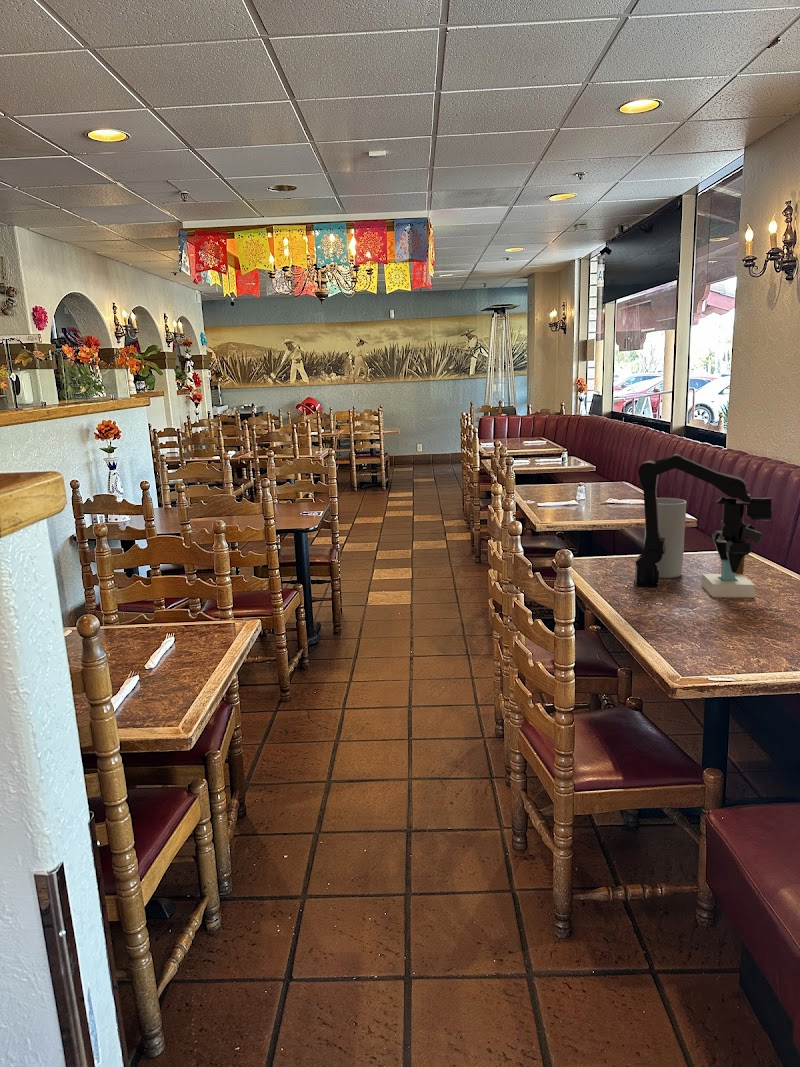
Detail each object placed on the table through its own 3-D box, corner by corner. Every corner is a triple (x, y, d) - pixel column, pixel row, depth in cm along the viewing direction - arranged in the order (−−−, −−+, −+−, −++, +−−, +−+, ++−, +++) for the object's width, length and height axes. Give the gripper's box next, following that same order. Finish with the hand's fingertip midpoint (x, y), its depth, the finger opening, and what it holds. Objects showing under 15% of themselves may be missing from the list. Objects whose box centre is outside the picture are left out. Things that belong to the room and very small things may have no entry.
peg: (723, 590, 225) (725, 562, 223) (720, 587, 228) (722, 559, 226) (734, 590, 224) (736, 562, 222) (731, 587, 227) (733, 559, 226)
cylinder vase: (677, 569, 253) (681, 497, 247) (685, 579, 241) (690, 504, 235) (639, 568, 255) (643, 497, 249) (646, 578, 242) (650, 504, 237)
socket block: (712, 596, 221) (713, 584, 220) (701, 585, 233) (702, 573, 232) (754, 597, 220) (755, 584, 219) (741, 586, 231) (741, 574, 231)
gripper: (772, 525, 211) (768, 577, 215) (750, 513, 229) (746, 561, 233) (732, 524, 213) (728, 576, 216) (713, 513, 231) (710, 561, 234)
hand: (729, 568), depth 225 cm, fingers open, 9 cm apart
